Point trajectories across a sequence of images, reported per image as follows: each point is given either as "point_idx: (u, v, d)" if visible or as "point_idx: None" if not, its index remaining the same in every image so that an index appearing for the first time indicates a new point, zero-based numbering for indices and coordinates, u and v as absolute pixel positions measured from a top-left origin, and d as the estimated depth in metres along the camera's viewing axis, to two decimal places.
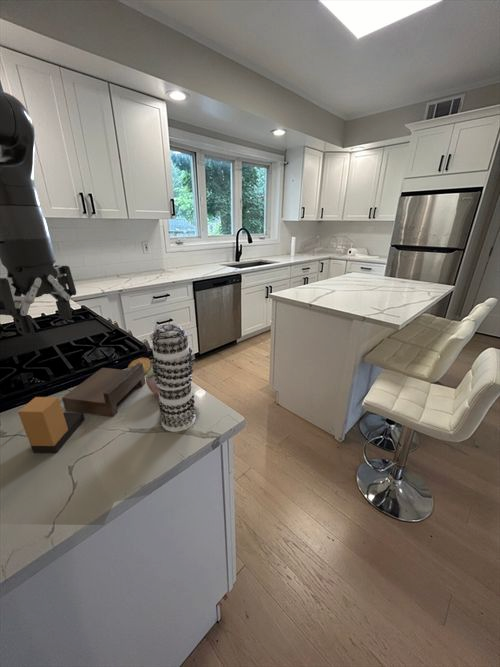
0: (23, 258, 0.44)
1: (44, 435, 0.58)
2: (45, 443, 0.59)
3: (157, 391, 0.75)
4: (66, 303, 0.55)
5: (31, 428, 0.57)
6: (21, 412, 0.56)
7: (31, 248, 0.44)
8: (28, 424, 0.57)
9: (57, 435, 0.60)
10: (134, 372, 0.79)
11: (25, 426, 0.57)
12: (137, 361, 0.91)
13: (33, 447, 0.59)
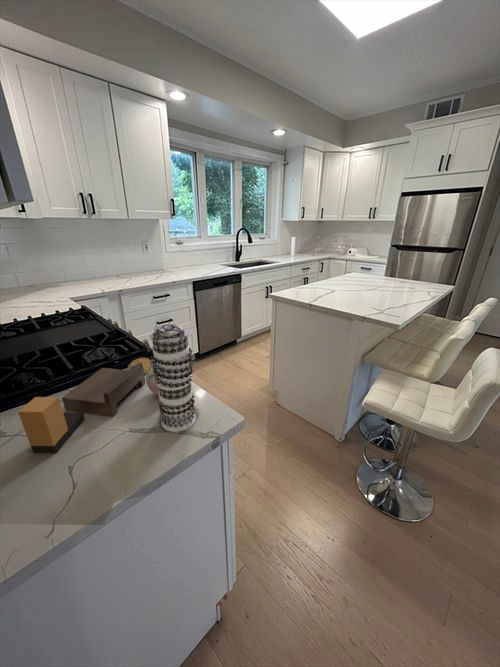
0: None
1: (44, 435, 0.58)
2: (45, 443, 0.59)
3: (157, 391, 0.75)
4: None
5: (31, 428, 0.57)
6: (21, 412, 0.56)
7: None
8: (28, 424, 0.57)
9: (57, 435, 0.60)
10: (134, 372, 0.79)
11: (25, 426, 0.57)
12: (137, 361, 0.91)
13: (33, 447, 0.59)
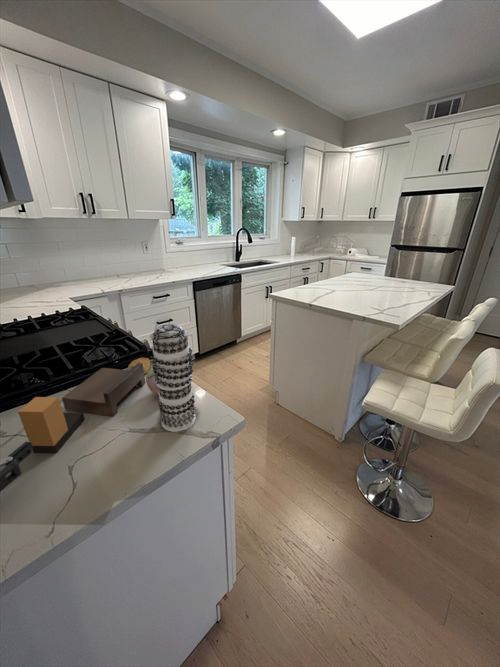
0: None
1: (44, 435, 0.58)
2: (45, 443, 0.59)
3: (157, 391, 0.75)
4: None
5: (31, 428, 0.57)
6: (21, 412, 0.56)
7: None
8: (28, 424, 0.57)
9: (57, 435, 0.60)
10: (134, 372, 0.79)
11: (25, 426, 0.57)
12: (137, 361, 0.91)
13: (33, 447, 0.59)
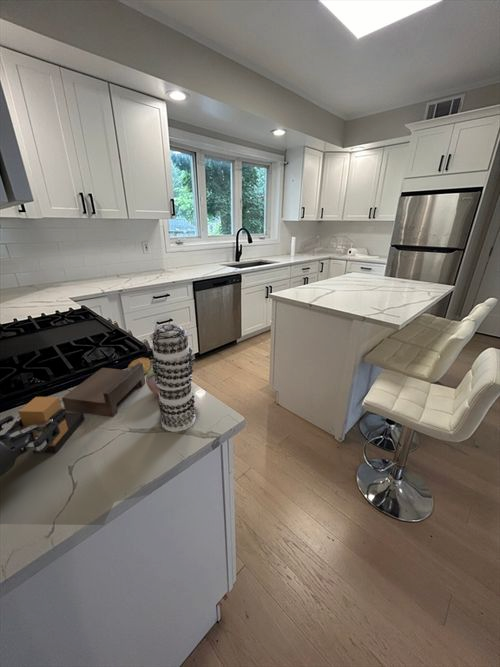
0: None
1: None
2: None
3: (157, 391, 0.75)
4: None
5: None
6: (21, 412, 0.56)
7: None
8: (28, 424, 0.57)
9: None
10: (134, 372, 0.79)
11: (25, 426, 0.57)
12: (137, 361, 0.91)
13: None
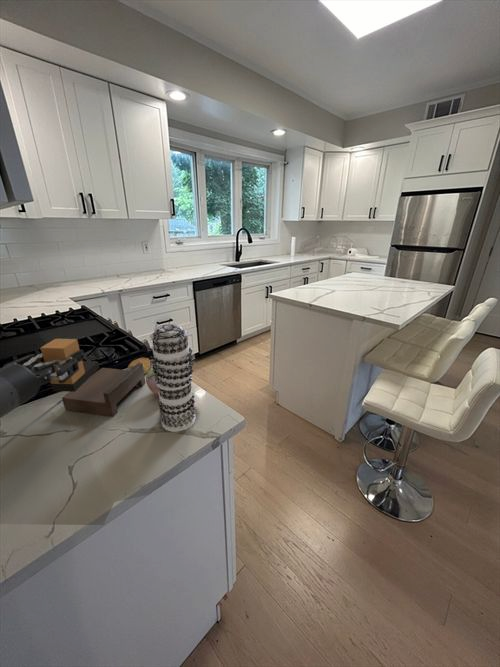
0: None
1: None
2: None
3: (157, 391, 0.75)
4: None
5: None
6: (43, 348, 0.59)
7: None
8: None
9: (75, 374, 0.63)
10: (134, 372, 0.79)
11: None
12: (137, 361, 0.91)
13: (53, 385, 0.63)
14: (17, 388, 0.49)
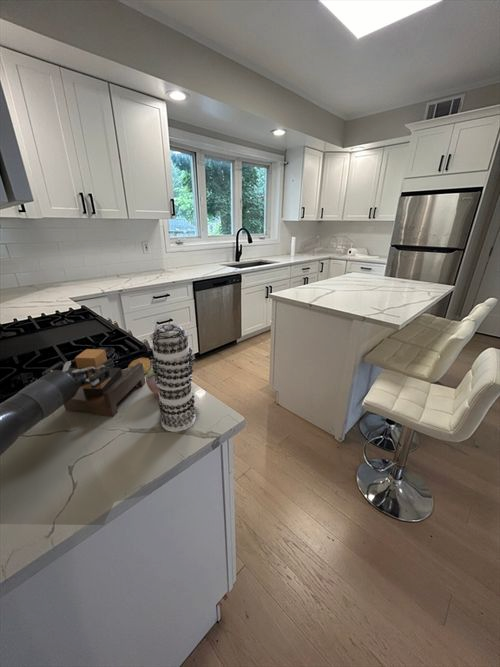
0: None
1: None
2: None
3: (157, 391, 0.75)
4: None
5: None
6: (77, 358, 0.69)
7: None
8: None
9: None
10: (134, 372, 0.79)
11: None
12: (137, 361, 0.91)
13: (84, 389, 0.72)
14: (61, 391, 0.59)
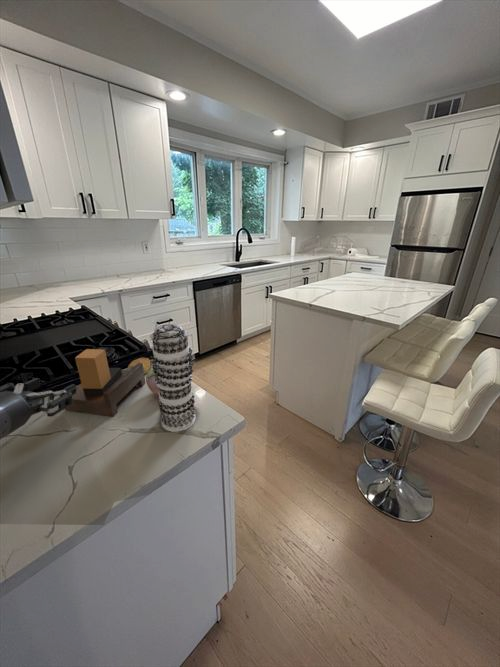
0: None
1: (94, 379, 0.71)
2: (94, 386, 0.72)
3: (157, 391, 0.75)
4: None
5: (84, 372, 0.70)
6: (77, 358, 0.69)
7: None
8: (82, 369, 0.70)
9: (103, 380, 0.73)
10: (134, 372, 0.79)
11: (79, 370, 0.70)
12: (137, 361, 0.91)
13: (84, 389, 0.72)
14: (11, 417, 0.48)
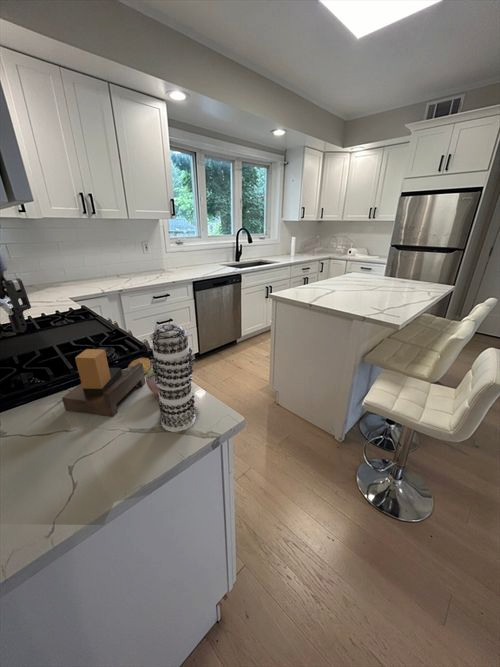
0: None
1: (94, 379, 0.71)
2: (94, 386, 0.72)
3: (157, 391, 0.75)
4: (9, 316, 0.53)
5: (84, 372, 0.70)
6: (77, 358, 0.69)
7: None
8: (82, 369, 0.70)
9: (103, 380, 0.73)
10: (134, 372, 0.79)
11: (79, 370, 0.70)
12: (137, 361, 0.91)
13: (84, 389, 0.72)
14: None
